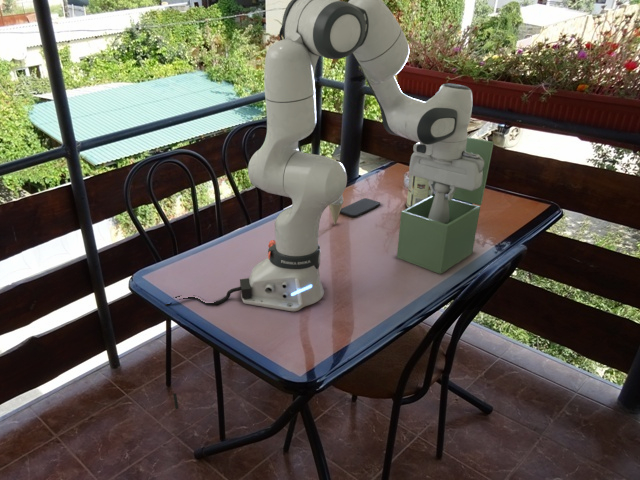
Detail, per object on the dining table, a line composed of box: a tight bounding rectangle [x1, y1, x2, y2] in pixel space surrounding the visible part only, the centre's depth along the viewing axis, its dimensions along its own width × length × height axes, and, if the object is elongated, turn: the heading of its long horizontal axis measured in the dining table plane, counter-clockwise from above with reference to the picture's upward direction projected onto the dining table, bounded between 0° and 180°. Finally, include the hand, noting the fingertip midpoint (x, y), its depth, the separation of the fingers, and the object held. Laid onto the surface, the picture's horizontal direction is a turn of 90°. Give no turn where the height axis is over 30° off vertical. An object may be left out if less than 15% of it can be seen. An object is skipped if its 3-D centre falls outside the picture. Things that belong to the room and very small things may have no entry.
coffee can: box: [406, 173, 436, 208], centre depth 191 cm, size 10×10×14 cm
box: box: [396, 196, 481, 275], centre depth 160 cm, size 17×15×15 cm
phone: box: [339, 198, 381, 218], centre depth 195 cm, size 7×1×15 cm
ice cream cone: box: [328, 194, 344, 225], centre depth 183 cm, size 5×5×15 cm
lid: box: [436, 136, 495, 206], centre depth 157 cm, size 18×15×5 cm
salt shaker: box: [428, 182, 451, 224], centre depth 155 cm, size 6×6×13 cm
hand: (441, 197), depth 154 cm, fingers closed on salt shaker, 3 cm apart
